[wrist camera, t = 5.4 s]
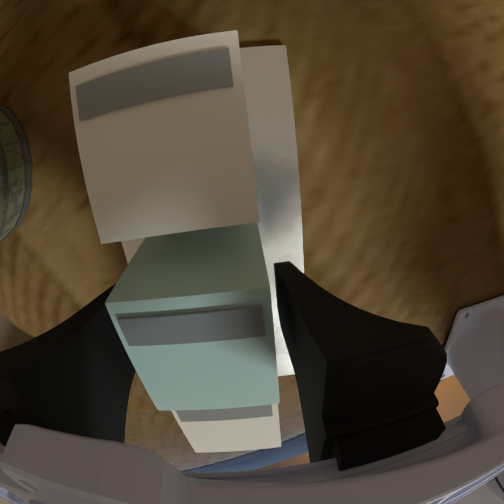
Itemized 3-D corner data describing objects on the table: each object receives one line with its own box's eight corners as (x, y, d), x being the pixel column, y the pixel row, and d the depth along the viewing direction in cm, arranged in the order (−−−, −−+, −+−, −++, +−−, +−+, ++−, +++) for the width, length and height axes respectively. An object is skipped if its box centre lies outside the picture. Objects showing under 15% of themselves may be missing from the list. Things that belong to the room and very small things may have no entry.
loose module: (255, 211, 13) (270, 289, 7) (265, 306, 15) (280, 405, 9) (154, 224, 13) (103, 305, 7) (178, 315, 15) (157, 412, 9)
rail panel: (284, 47, 11) (289, 39, 10) (303, 368, 19) (307, 383, 18) (94, 82, 11) (80, 80, 10) (174, 380, 19) (171, 395, 18)
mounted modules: (236, 65, 10) (237, 28, 6) (272, 378, 17) (281, 448, 13) (128, 85, 10) (66, 72, 5) (200, 385, 17) (195, 454, 13)
